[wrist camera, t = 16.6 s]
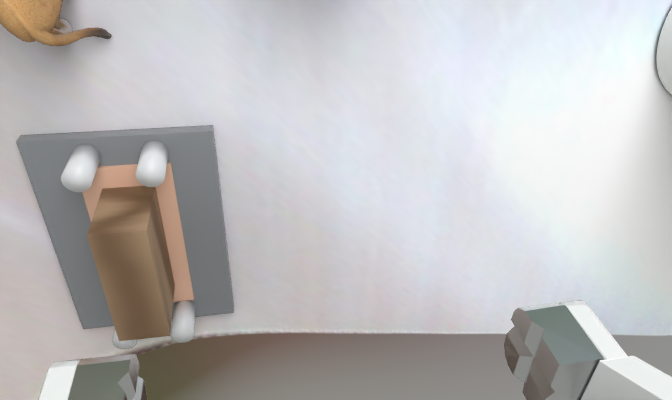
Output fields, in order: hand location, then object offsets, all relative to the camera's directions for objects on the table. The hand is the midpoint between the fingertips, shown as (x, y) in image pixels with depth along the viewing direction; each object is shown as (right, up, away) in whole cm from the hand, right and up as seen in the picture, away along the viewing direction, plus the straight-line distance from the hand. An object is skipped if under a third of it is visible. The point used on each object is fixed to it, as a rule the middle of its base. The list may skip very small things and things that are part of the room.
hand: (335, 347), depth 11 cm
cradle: (-17, 0, +35) cm, 39 cm away
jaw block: (-17, 0, +34) cm, 38 cm away
